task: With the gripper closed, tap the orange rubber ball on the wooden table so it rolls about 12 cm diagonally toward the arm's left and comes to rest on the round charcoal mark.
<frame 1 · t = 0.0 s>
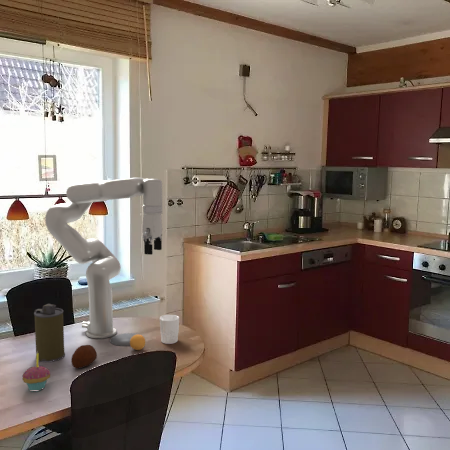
hand: (153, 251, 203), 37 cm above the table, tool pointing down, fingers open, 9 cm apart
ball: (137, 342, 197), on the table
canister: (50, 356, 190), on the table
white cup: (169, 341, 207), on the table
potato: (85, 366, 182), on the table
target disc: (127, 339, 207), on the table
cupcake: (37, 389, 164), on the table
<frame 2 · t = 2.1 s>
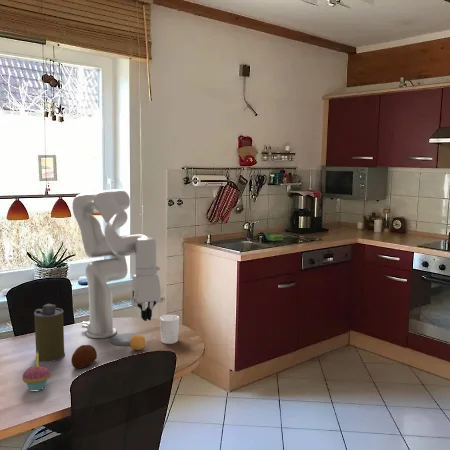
hand: (146, 319, 187), 15 cm above the table, tool pointing down, fingers closed
nothing on the table moved.
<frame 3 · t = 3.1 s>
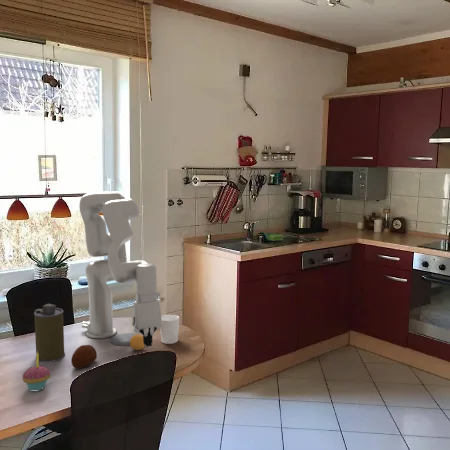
hand: (148, 345, 188), 5 cm above the table, tool pointing down, fingers closed
nothing on the table moved.
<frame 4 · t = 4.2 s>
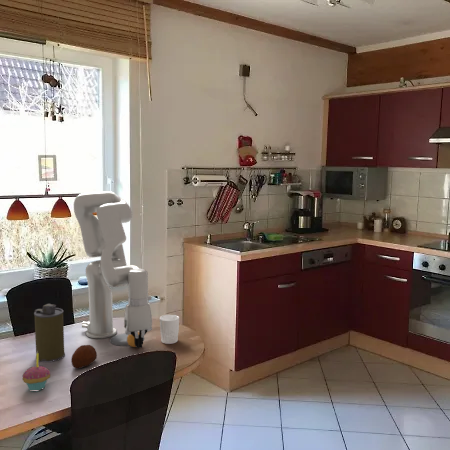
hand: (138, 346, 196), 2 cm above the table, tool pointing down, fingers closed
ball: (134, 339, 200), on the table, touching gripper
everything else where it was.
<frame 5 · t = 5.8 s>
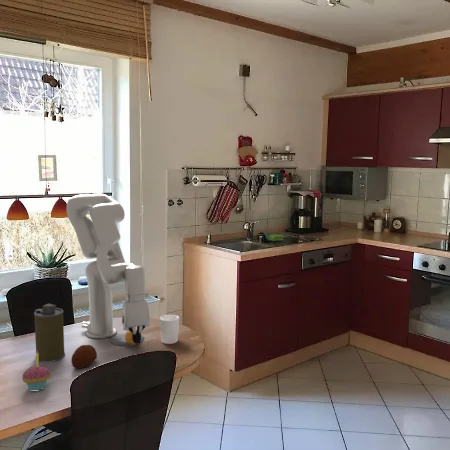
hand: (136, 342, 199), 2 cm above the table, tool pointing down, fingers closed
ball: (132, 336, 202), on the table, touching gripper
everything else where it was.
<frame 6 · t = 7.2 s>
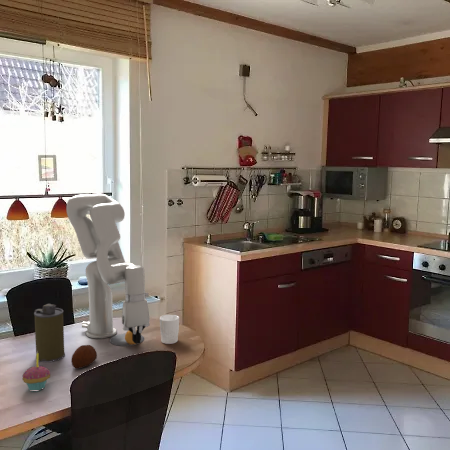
hand: (136, 342, 199), 2 cm above the table, tool pointing down, fingers closed
nothing on the table moved.
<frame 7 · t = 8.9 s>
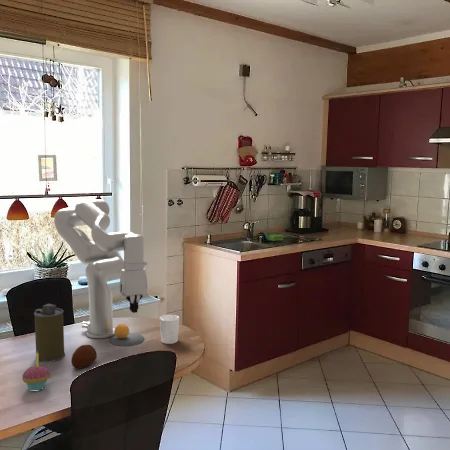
hand: (134, 311, 198), 14 cm above the table, tool pointing down, fingers closed
ball: (121, 331, 209), on the table
everything else where it was.
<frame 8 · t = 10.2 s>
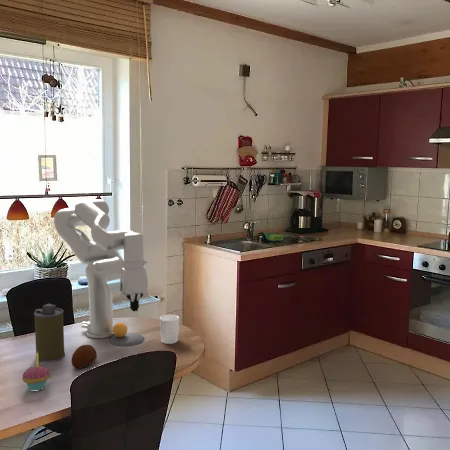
hand: (134, 310, 198), 15 cm above the table, tool pointing down, fingers closed
ball: (120, 329, 210), on the table
everything else where it was.
at the end: ball 4.7 cm from the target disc (horizontally); ball at rest at the end (0.0 cm/s); ball moved 16.5 cm from its start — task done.
